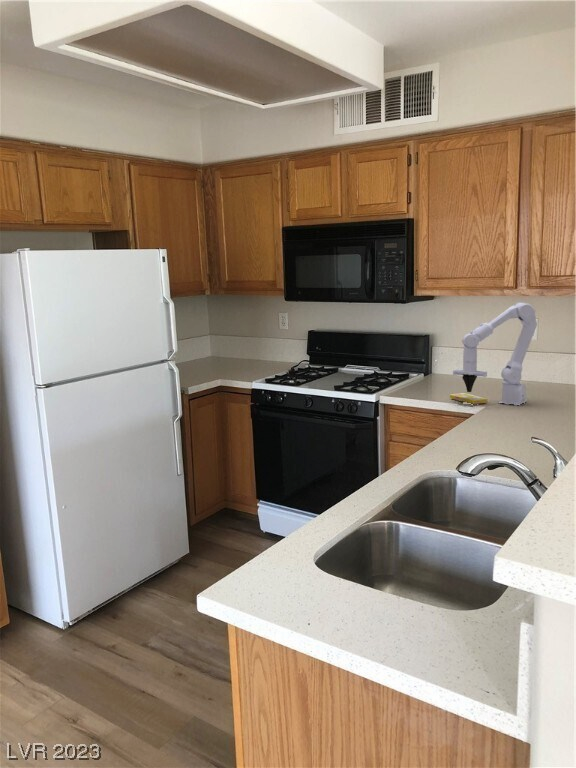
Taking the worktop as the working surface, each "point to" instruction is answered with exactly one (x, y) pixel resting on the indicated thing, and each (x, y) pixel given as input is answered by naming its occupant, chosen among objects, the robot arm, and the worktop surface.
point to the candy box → (469, 398)
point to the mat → (467, 404)
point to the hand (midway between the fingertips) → (469, 391)
